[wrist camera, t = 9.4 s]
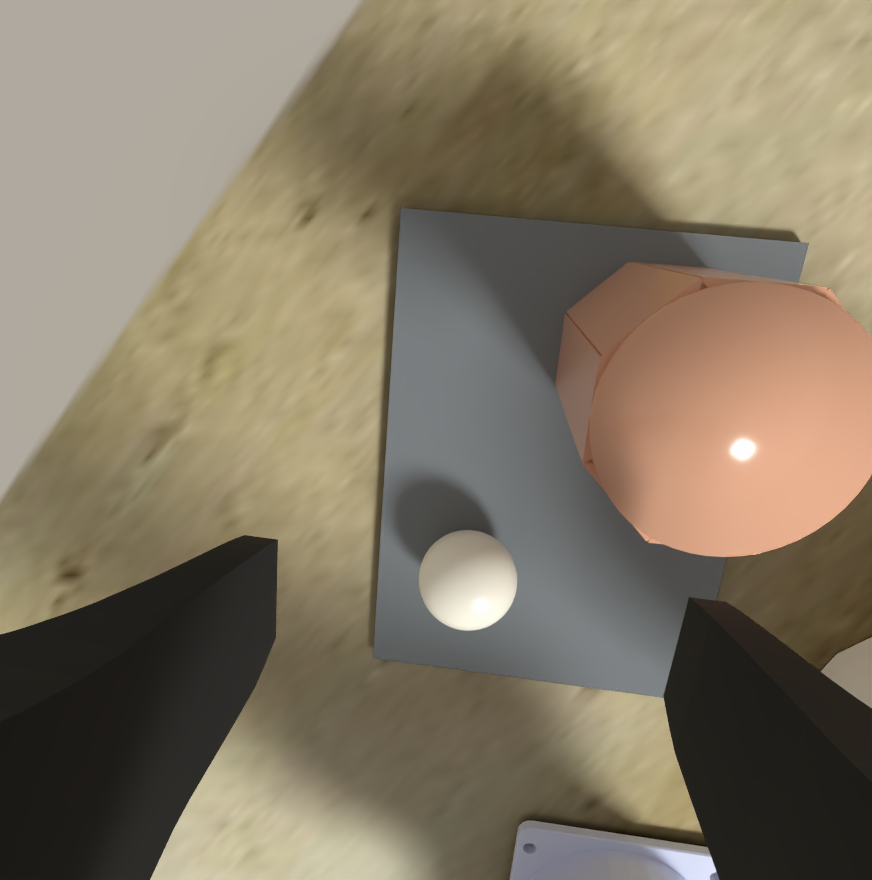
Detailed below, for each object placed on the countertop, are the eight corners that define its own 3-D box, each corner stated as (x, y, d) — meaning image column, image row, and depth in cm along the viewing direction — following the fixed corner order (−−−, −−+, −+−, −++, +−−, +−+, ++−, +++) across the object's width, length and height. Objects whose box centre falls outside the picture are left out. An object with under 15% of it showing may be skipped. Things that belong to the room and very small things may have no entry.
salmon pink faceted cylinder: (723, 452, 19) (844, 572, 12) (547, 434, 19) (572, 540, 12) (765, 272, 17) (932, 296, 10) (572, 256, 17) (616, 270, 11)
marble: (510, 601, 21) (511, 658, 18) (421, 589, 21) (408, 644, 18) (521, 519, 20) (525, 566, 17) (428, 508, 20) (416, 553, 17)
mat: (686, 693, 22) (689, 701, 21) (375, 650, 23) (372, 658, 22) (802, 242, 17) (809, 242, 17) (403, 208, 18) (400, 207, 17)
